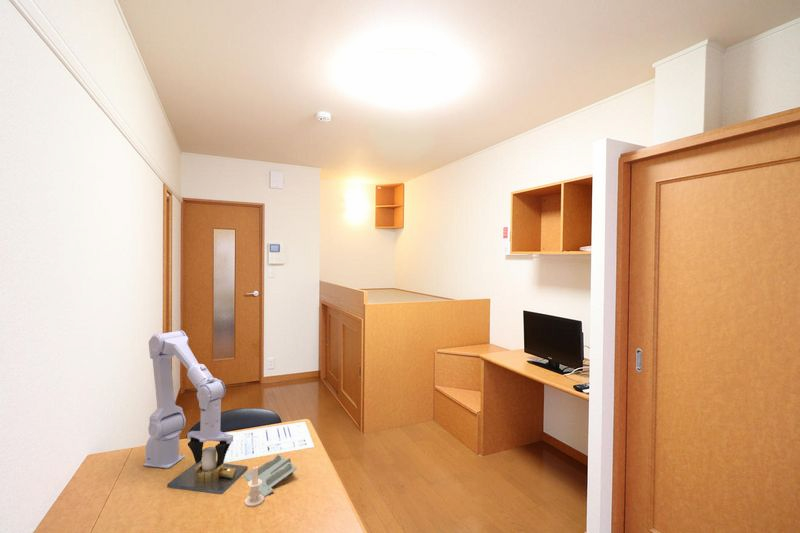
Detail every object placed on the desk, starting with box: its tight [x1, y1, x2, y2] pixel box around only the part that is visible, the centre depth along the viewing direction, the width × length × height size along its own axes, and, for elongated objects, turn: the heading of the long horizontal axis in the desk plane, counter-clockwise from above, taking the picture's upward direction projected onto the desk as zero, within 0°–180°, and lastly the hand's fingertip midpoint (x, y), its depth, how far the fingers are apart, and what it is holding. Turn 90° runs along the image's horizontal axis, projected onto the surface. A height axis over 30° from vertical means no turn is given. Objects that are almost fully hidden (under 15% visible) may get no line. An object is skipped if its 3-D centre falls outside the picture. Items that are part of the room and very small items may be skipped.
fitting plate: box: [166, 459, 249, 495], centre depth 122 cm, size 18×14×4 cm
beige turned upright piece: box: [244, 465, 265, 508], centre depth 110 cm, size 5×5×10 cm
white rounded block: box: [201, 446, 217, 472], centre depth 121 cm, size 4×4×8 cm
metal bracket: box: [242, 454, 298, 498], centre depth 122 cm, size 14×6×15 cm
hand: (209, 463), depth 122 cm, fingers open, 7 cm apart
